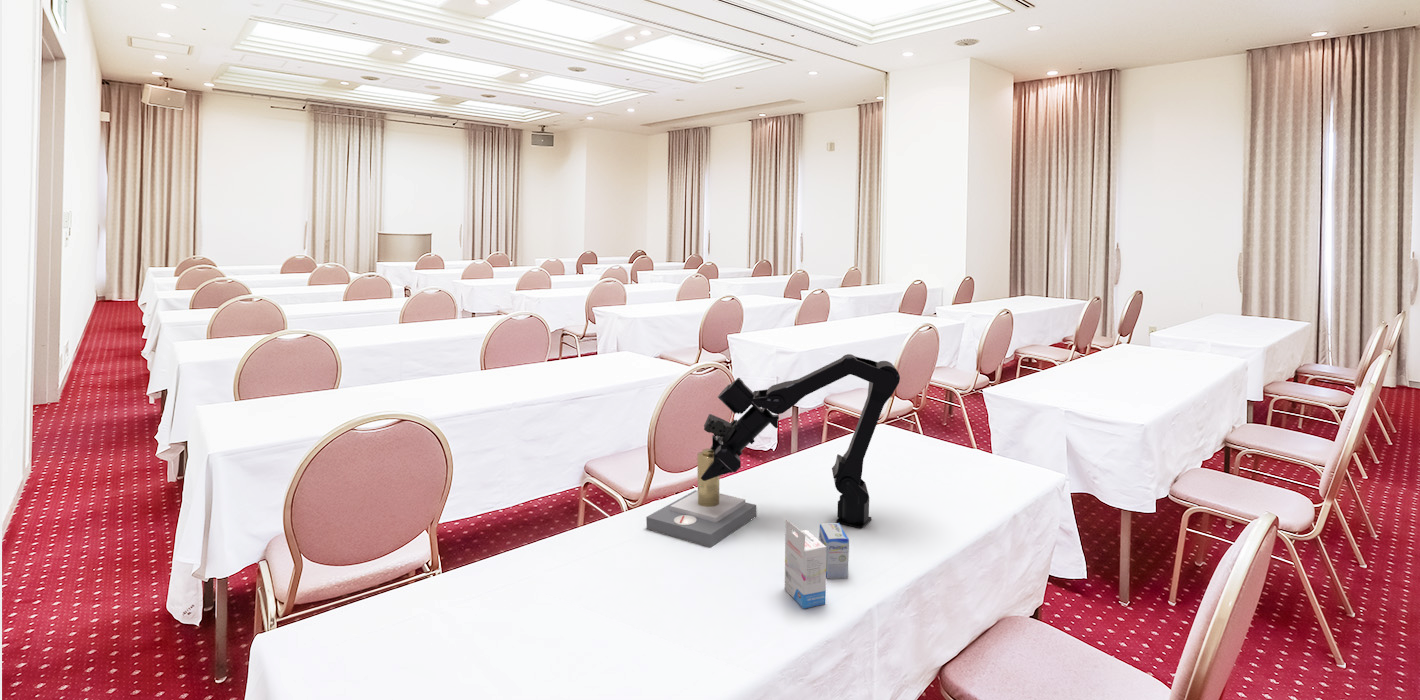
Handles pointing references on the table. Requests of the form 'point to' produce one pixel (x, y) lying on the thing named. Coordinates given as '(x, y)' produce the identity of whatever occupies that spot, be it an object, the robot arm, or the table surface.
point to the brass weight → (708, 488)
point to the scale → (701, 518)
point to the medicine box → (835, 550)
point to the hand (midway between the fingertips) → (702, 472)
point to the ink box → (805, 567)
